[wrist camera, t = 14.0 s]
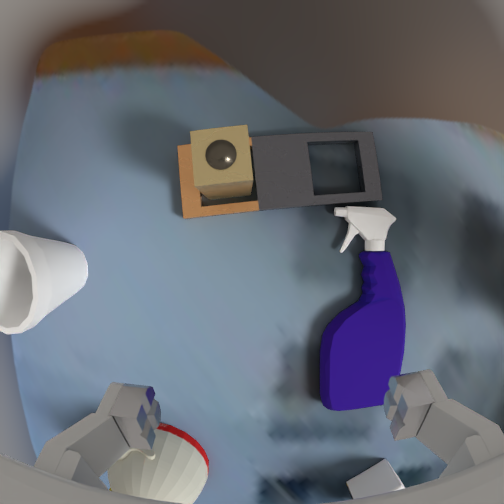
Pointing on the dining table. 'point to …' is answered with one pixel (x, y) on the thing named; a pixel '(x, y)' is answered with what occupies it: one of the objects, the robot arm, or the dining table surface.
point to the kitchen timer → (162, 468)
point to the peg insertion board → (286, 174)
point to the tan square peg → (222, 162)
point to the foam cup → (36, 278)
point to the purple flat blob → (365, 322)
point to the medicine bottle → (374, 481)
